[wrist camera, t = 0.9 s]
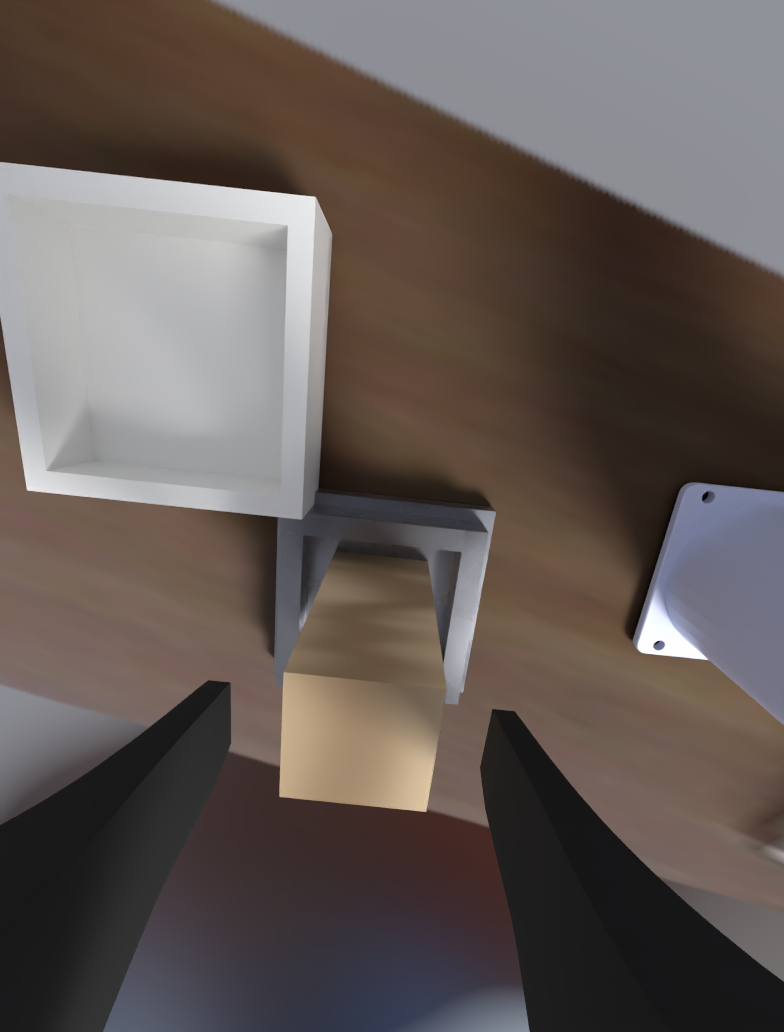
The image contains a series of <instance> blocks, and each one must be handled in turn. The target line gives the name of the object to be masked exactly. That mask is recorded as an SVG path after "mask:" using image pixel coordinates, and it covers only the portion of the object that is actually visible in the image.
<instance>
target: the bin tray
mask: <svg viewBox="0 0 784 1032" xmlns="http://www.w3.org/2000/svg"><path fill="white" fill-rule="evenodd" d="M331 250H332V232H331V230H330V228H329V226H328V223H327V221H326V219H325V217H324V214H323V212H322V210H321V208H320V205H319V203H318V201H317V199H316V197H311V196H302V195H293V194H284V193H275V192H266V191H257V190H248V189H239V188H230V187H221V186H212V185H203V184H194V183H185V182H176V181H167V180H158V179H149V178H140V177H131V176H122V175H113V174H104V173H95V172H86V171H77V170H68V169H59V168H50V167H41V166H32V165H23V164H14V163H5V162H0V318H1V324H2V331H3V337H4V344H5V350H6V357H7V363H8V370H9V376H10V382H11V389H12V395H13V402H14V408H15V415H16V421H17V428H18V434H19V441H20V447H21V454H22V460H23V467H24V473H25V480H26V486H27V490H29V491H38V492H47V493H57V494H66V495H75V496H85V497H94V498H104V499H113V500H122V501H132V502H141V503H150V504H160V505H169V506H179V507H188V508H197V509H207V510H216V511H225V512H235V513H244V514H254V515H263V516H272V517H282V518H291V519H300V520H302V519H303V518H304V516H305V515H306V514H307V513H308V511H309V510H310V509H311V507H312V506H313V505H314V499H315V492H316V490H317V489H318V488H319V472H320V454H321V435H322V417H323V398H324V380H325V361H326V343H327V324H328V306H329V287H330V269H331Z"/></svg>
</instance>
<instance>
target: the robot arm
mask: <svg viewBox="0 0 784 1032" xmlns="http://www.w3.org/2000/svg"><path fill="white" fill-rule="evenodd" d="M707 491H708V497H707V498H706V499H705V500H704V501H702V496H703V494H704V493H706V492H707ZM656 641H659V643H658V644H657V645H653V644H654V643H655V642H656ZM633 644H634V646H635V647H636V648H637V649H638V650H639V651H640V652H642V653H648V654H657V655H667V656H676V657H686V658H695V659H704V660H710V661H711V662H712V663H713V664H714V665H715V666H716V667H718V668H719V669H720V670H721V671H722V672H723V673H725V674H726V675H727V676H728V677H729V678H730V679H731V680H733V681H734V682H735V683H736V684H737V685H738V686H739V687H741V688H742V689H743V690H744V691H745V692H746V693H747V694H749V695H750V696H751V697H752V698H753V699H754V700H755V701H757V702H758V703H759V704H760V705H761V706H762V707H763V708H765V709H766V710H767V711H768V712H769V713H770V714H771V715H773V716H774V717H775V718H776V719H777V720H778V721H779V722H781V723H782V724H783V725H784V492H780V491H770V490H761V489H752V488H743V487H733V486H724V485H715V484H705V483H696V482H692V483H688V484H686V485H684V486H683V487H682V488H681V490H680V491H679V494H678V497H677V500H676V503H675V507H674V510H673V513H672V516H671V519H670V523H669V526H668V529H667V532H666V535H665V539H664V542H663V545H662V548H661V551H660V555H659V558H658V561H657V564H656V567H655V571H654V574H653V577H652V580H651V583H650V587H649V590H648V593H647V596H646V599H645V603H644V606H643V609H642V612H641V616H640V619H639V622H638V625H637V628H636V632H635V635H634V638H633ZM230 744H231V689H230V683H229V682H219V681H210V680H208V681H207V682H205V683H204V684H203V685H202V686H200V687H199V688H198V689H197V690H195V691H194V692H193V693H192V694H190V695H189V696H188V697H187V698H186V699H184V700H183V701H182V702H181V703H179V704H178V705H177V706H176V707H174V708H173V709H172V710H171V711H170V712H168V713H167V714H166V715H165V716H163V717H162V718H161V719H160V720H158V721H157V722H156V723H154V724H153V725H152V726H151V727H149V728H148V729H147V730H145V731H144V732H143V733H142V734H140V735H139V736H138V737H136V738H135V739H134V740H133V741H131V742H130V743H128V744H127V745H126V746H125V747H123V748H122V749H120V750H119V751H117V752H116V753H115V754H113V755H112V756H111V757H109V758H108V759H106V760H105V761H104V762H102V763H101V764H99V765H98V766H97V767H95V768H94V769H92V770H91V771H89V772H88V773H86V774H85V775H83V776H82V777H80V778H79V779H77V780H76V781H75V782H73V783H71V784H69V785H68V786H66V787H65V788H63V789H61V790H60V791H58V792H57V793H55V794H53V795H52V796H50V797H49V798H47V799H45V800H44V801H42V802H40V803H39V804H37V805H35V806H34V807H32V808H30V809H28V810H26V811H25V812H23V813H21V814H19V815H18V816H16V817H14V818H12V819H11V820H9V821H7V822H5V823H3V824H2V825H0V1032H103V1030H104V1028H105V1025H106V1022H107V1020H108V1017H109V1014H110V1012H111V1010H112V1007H113V1005H114V1002H115V1000H116V997H117V995H118V992H119V990H120V987H121V985H122V982H123V980H124V978H125V975H126V973H127V970H128V968H129V965H130V962H131V960H132V958H133V955H134V953H135V951H136V948H137V946H138V943H139V941H140V938H141V936H142V934H143V931H144V929H145V926H146V924H147V922H148V919H149V917H150V914H151V912H152V910H153V907H154V905H155V903H156V901H157V898H158V896H159V894H160V892H161V890H162V888H163V886H164V884H165V882H166V880H167V878H168V876H169V874H170V872H171V870H172V868H173V866H174V864H175V862H176V860H177V858H178V856H179V854H180V852H181V850H182V848H183V846H184V844H185V842H186V840H187V839H188V837H189V835H190V833H191V831H192V829H193V827H194V825H195V823H196V821H197V819H198V817H199V815H200V813H201V811H202V809H203V807H204V805H205V803H206V801H207V799H208V797H209V795H210V793H211V791H212V789H213V787H214V785H215V783H216V781H217V778H218V776H219V773H220V770H221V768H222V765H223V763H224V760H225V758H226V755H227V752H228V750H229V747H230ZM480 770H481V779H482V787H483V795H484V802H485V809H486V814H487V818H488V822H489V827H490V831H491V835H492V839H493V844H494V848H495V852H496V856H497V860H498V864H499V869H500V873H501V877H502V881H503V885H504V889H505V894H506V898H507V902H508V906H509V910H510V915H511V920H512V924H513V929H514V934H515V939H516V946H517V951H518V958H519V964H520V971H521V977H522V984H523V990H524V996H525V1002H526V1010H527V1016H528V1023H529V1030H530V1032H784V982H783V981H782V980H781V979H779V978H778V977H777V976H775V975H774V974H772V973H771V972H770V971H769V970H767V969H766V968H765V967H763V966H762V965H761V964H759V963H758V962H757V961H756V960H754V959H753V958H752V957H751V956H749V955H748V954H747V953H746V952H745V951H743V950H742V949H741V948H740V947H738V946H737V945H736V944H735V943H733V942H732V941H731V940H730V939H729V938H727V937H726V936H725V935H723V934H722V933H721V932H720V931H719V930H718V929H716V928H715V927H714V926H713V925H712V924H710V923H709V922H708V921H707V920H706V919H704V918H703V917H702V916H701V915H700V914H699V913H698V912H696V911H695V910H694V909H693V908H692V907H691V906H689V905H688V904H687V903H686V902H685V901H684V900H683V899H682V898H681V897H680V896H678V895H677V894H676V893H675V892H674V891H673V890H672V889H671V888H670V887H668V886H667V885H666V884H665V883H664V882H663V881H662V880H661V879H660V878H659V877H658V876H656V875H655V874H654V873H653V872H652V871H651V870H650V869H649V868H648V867H647V866H646V865H645V864H644V863H643V862H642V861H641V860H640V859H639V858H638V857H637V856H636V855H635V854H634V853H633V852H632V851H631V850H630V849H629V848H628V847H627V846H626V845H625V844H624V843H623V842H622V841H621V840H620V839H619V838H618V837H617V836H616V835H615V834H614V833H613V832H612V831H611V830H610V829H609V827H608V826H607V825H606V824H605V823H604V822H603V821H602V820H601V819H600V818H599V817H598V815H597V814H596V813H595V812H594V811H593V810H592V809H591V807H590V806H589V805H588V804H587V803H586V802H585V801H584V800H583V798H582V797H581V796H580V795H579V794H578V793H577V791H576V790H575V789H574V788H573V787H572V785H571V784H570V783H569V782H568V780H567V779H566V778H565V777H564V775H563V774H562V773H561V772H560V770H559V769H558V768H557V767H556V765H555V764H554V763H553V762H552V760H551V759H550V758H549V756H548V755H547V754H546V752H545V751H544V750H543V748H542V747H541V746H540V745H539V743H538V742H537V741H536V739H535V738H534V737H533V735H532V734H531V732H530V731H529V730H528V728H527V727H526V726H525V724H524V723H523V722H522V720H521V719H520V718H519V717H518V715H517V714H516V713H515V711H505V710H496V709H492V714H491V719H490V723H489V728H488V733H487V738H486V742H485V747H484V752H483V757H482V761H481V766H480Z"/></svg>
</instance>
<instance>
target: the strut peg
mask: <svg viewBox="0 0 784 1032" xmlns="http://www.w3.org/2000/svg"><path fill="white" fill-rule="evenodd" d="M446 691H447V687H446V680H445V673H444V666H443V660H442V653H441V646H440V639H439V633H438V626H437V619H436V612H435V606H434V599H433V592H432V585H431V579H430V572H429V565H428V561H421V560H412V559H403V558H393V557H384V556H374V555H365V554H355V553H346V552H337V551H335V553H334V555H333V558H332V560H331V562H330V565H329V567H328V569H327V572H326V574H325V576H324V579H323V581H322V583H321V586H320V588H319V590H318V593H317V595H316V597H315V600H314V602H313V604H312V607H311V609H310V612H309V614H308V616H307V619H306V621H305V623H304V626H303V628H302V630H301V633H300V635H299V637H298V640H297V642H296V644H295V647H294V649H293V651H292V654H291V656H290V658H289V661H288V663H287V665H286V668H285V670H284V676H283V706H282V736H281V766H280V797H288V798H298V799H307V800H318V801H327V802H336V803H347V804H356V805H366V806H375V807H385V808H395V809H404V810H414V811H424V812H426V809H427V803H428V797H429V792H430V786H431V780H432V774H433V768H434V762H435V756H436V750H437V744H438V738H439V733H440V727H441V721H442V715H443V709H444V703H445V697H446Z"/></svg>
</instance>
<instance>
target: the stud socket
mask: <svg viewBox="0 0 784 1032" xmlns="http://www.w3.org/2000/svg"><path fill="white" fill-rule="evenodd" d="M495 515H496V511H495V510H494V509H493V507H491V506H482V505H472V504H463V503H454V502H444V501H435V500H426V499H416V498H407V497H398V496H388V495H379V494H370V493H360V492H351V491H342V490H332V489H323V488H318V489H317V490H316V492H315V499H314V505H313V506H312V507H311V509H310V510H309V511H308V513H307V514H306V515H305V516H304V518H303V519H302V520H300V519H291V518H282V517H278V529H277V568H276V608H275V647H274V673H276V686H283V676H284V670H285V668H286V665H287V663H288V661H289V658H290V656H291V654H292V651H293V649H294V647H295V644H296V642H297V640H298V637H299V635H300V633H301V630H302V628H303V626H304V623H305V621H306V619H307V616H308V614H309V612H310V609H311V607H312V604H313V602H314V600H315V597H316V595H317V593H318V590H319V588H320V586H321V583H322V581H323V579H324V576H325V574H326V572H327V569H328V567H329V565H330V562H331V560H332V558H333V555H334V553H335V551H337V552H346V553H355V554H365V555H374V556H384V557H393V558H403V559H412V560H421V561H428V565H429V572H430V579H431V585H432V592H433V599H434V606H435V612H436V619H437V626H438V633H439V639H440V646H441V653H442V660H443V666H444V673H445V680H446V687H447V691H446V697H445V703H448V704H458V699H459V694H460V693H463V689H464V683H465V678H466V672H467V667H468V662H469V656H470V651H471V645H472V640H473V634H474V629H475V623H476V618H477V613H478V607H479V602H480V596H481V591H482V585H483V580H484V574H485V569H486V564H487V558H488V553H489V547H490V542H491V536H492V531H493V525H494V520H495Z"/></svg>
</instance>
